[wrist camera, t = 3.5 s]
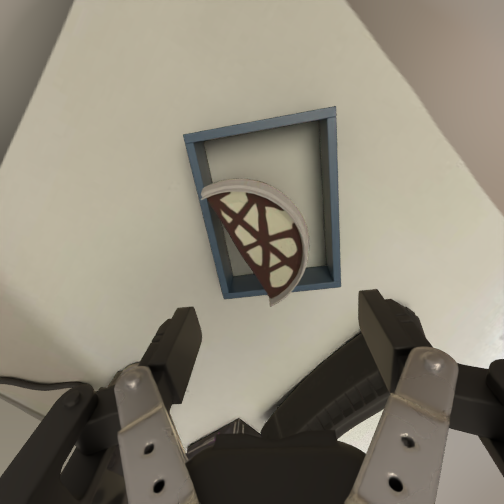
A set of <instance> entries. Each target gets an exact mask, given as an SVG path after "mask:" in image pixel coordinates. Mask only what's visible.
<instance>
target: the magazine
mask: <svg viewBox="0 0 504 504" xmlns="http://www.w3.org/2000/svg"><path fill="white" fill-rule="evenodd" d="M401 306H402V305H401ZM402 307H403V308H404V310H405V311H406V312H407V314H408V315H409V316H410V318H411V319H412V320H413V322H414V323H415V324H416V326H417V327H418V328H419V330H420V331H421V332H422V334H423V335H424V336H425V334H424V331H423V328H422V326H421V323H420V320H419V318H418V316H416V315H415V313H414V312H413V311H411V310H410V309H409V308H407V307H404V306H402ZM425 338H426V337H425ZM389 395H390V393H389V391H388V389H387V386H386V384H385V382H384V380H383V378H382V375H381V373H380V371H379V369H378V367H377V364H376V362H375V360H374V358H373V356H372V354H371V351H370V349H369V347H368V345H367V343H366V340H365V338H364V336H363V334H362V333H361V334H360V335H358V336H357V337H355V338H354V339H352V340H351V341H350V342H348V343H347V344H346V345H344V346H343V347H342V348H340V349H339V350H338V351H336V352H335V353H334V354H333V355H331V356H330V357H329V358H328V359H326V360H325V361H324V362H323V363H322V364H321V365H319V366H318V367H317V368H316V369H315V370H314V371H313V372H312V373H311V374H310V375H309V376H307V377H306V378H305V379H304V380H303V381H302V382H301V383H300V384H299V386H298V387H297V388H296V389H295V390H294V391H293V392H292V393H291V394H290V396H289V397H288V398H287V399H286V400H285V401H284V402H283V403H282V404H281V406H280V407H277V410H276V411H275V412H274V413H273V415H272V416H271V417H270V419H269V420H268V421H267V422H266V424H265V425H264V426H263V428H262V430H261V438H265V439H269V440H278V439H281V438H284V437H288V436H291V435H294V434H297V433H300V432H303V431H320V430H335V432H336V437H337V439H338V438H339V437H341V436H342V435H343V434H344V433H346V432H347V431H349V430H350V429H352V428H353V427H354V426H356V425H358V424H359V423H361V422H363V421H364V420H366V419H368V418H369V417H371V416H373V415H374V414H376V413H378V412H379V411H381V410H383V409H384V408H385V405H386V403H387V400H388V398H389Z"/></svg>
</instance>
